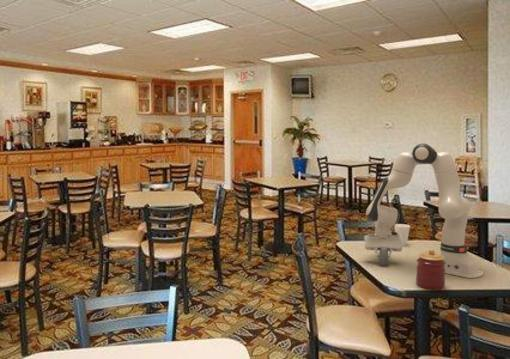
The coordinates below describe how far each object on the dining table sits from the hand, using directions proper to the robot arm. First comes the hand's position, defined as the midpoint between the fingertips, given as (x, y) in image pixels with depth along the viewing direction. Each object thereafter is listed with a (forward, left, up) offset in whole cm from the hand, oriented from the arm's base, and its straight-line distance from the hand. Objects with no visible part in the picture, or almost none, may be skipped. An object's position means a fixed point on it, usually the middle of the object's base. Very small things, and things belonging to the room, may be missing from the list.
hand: (383, 256), depth 240 cm
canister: (-34, +8, -5) cm, 35 cm away
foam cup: (+22, -46, -5) cm, 52 cm away
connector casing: (0, 0, -5) cm, 5 cm away
